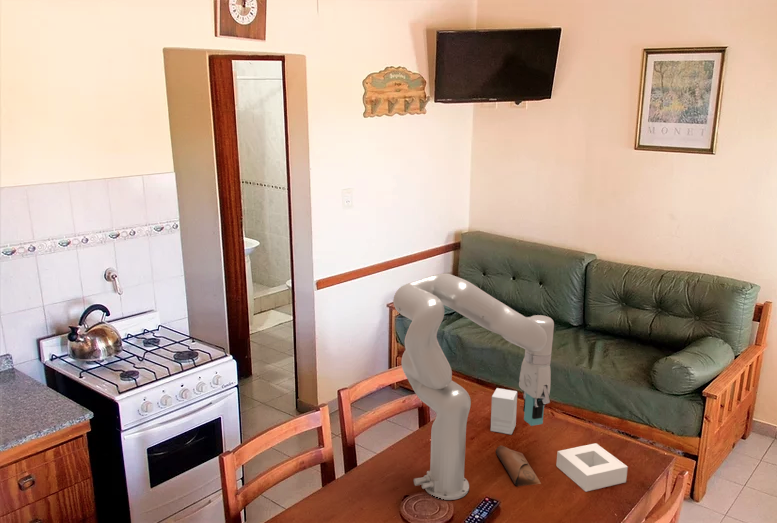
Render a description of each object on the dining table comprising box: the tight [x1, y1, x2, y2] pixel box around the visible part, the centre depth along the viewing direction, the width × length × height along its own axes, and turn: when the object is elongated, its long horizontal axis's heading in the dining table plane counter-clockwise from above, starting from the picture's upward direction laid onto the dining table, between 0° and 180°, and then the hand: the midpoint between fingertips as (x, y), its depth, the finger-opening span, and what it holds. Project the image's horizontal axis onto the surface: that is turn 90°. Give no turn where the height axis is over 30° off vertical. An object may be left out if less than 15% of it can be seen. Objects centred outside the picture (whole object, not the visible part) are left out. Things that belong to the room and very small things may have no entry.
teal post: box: [523, 393, 545, 427], centre depth 192 cm, size 4×4×9 cm
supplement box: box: [490, 387, 518, 436], centre depth 213 cm, size 7×7×13 cm
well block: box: [556, 442, 629, 492], centre depth 188 cm, size 14×14×5 cm
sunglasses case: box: [495, 445, 542, 487], centre depth 190 cm, size 18×7×7 cm, turn 9°
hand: (532, 414), depth 192 cm, fingers closed on teal post, 4 cm apart
